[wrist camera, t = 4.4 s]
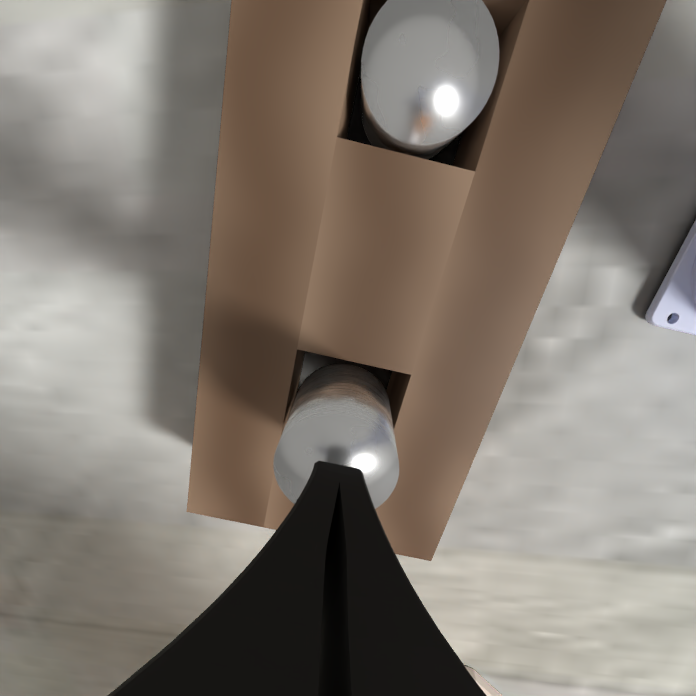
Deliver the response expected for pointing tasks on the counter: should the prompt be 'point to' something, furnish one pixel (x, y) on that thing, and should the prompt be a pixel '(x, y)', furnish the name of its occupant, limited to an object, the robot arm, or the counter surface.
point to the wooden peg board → (389, 240)
